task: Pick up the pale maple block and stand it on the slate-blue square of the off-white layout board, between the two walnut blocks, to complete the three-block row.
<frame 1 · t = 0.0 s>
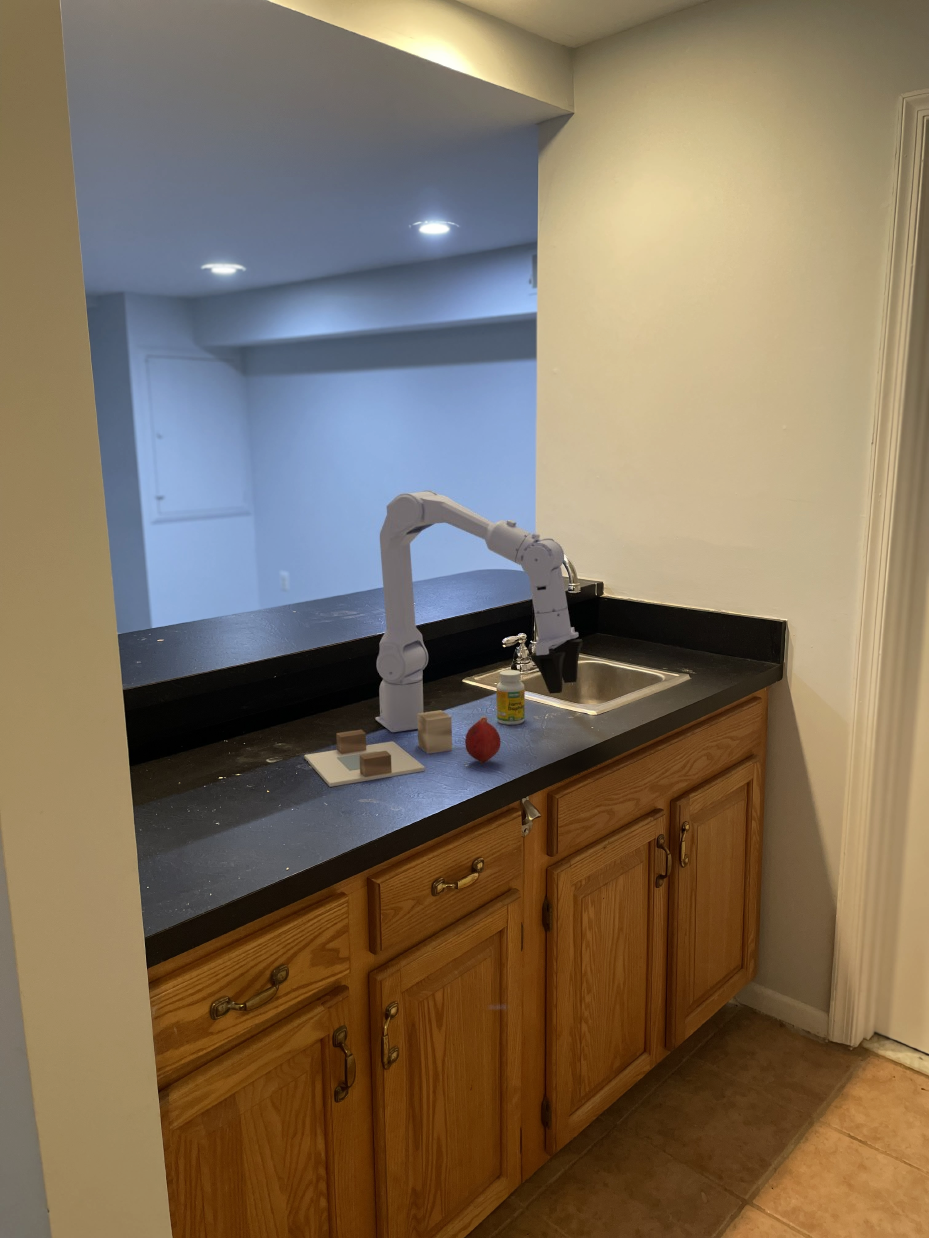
hand: (563, 687, 162), 11 cm above the counter, tool pointing down, fingers open, 7 cm apart
walnut blocks: (363, 752, 156), on the layout board, point 2 cm above the counter
supplement bottle: (510, 722, 179), on the counter
maple block: (435, 748, 164), on the counter
onion: (482, 764, 156), on the counter
layout board: (363, 764, 156), on the counter
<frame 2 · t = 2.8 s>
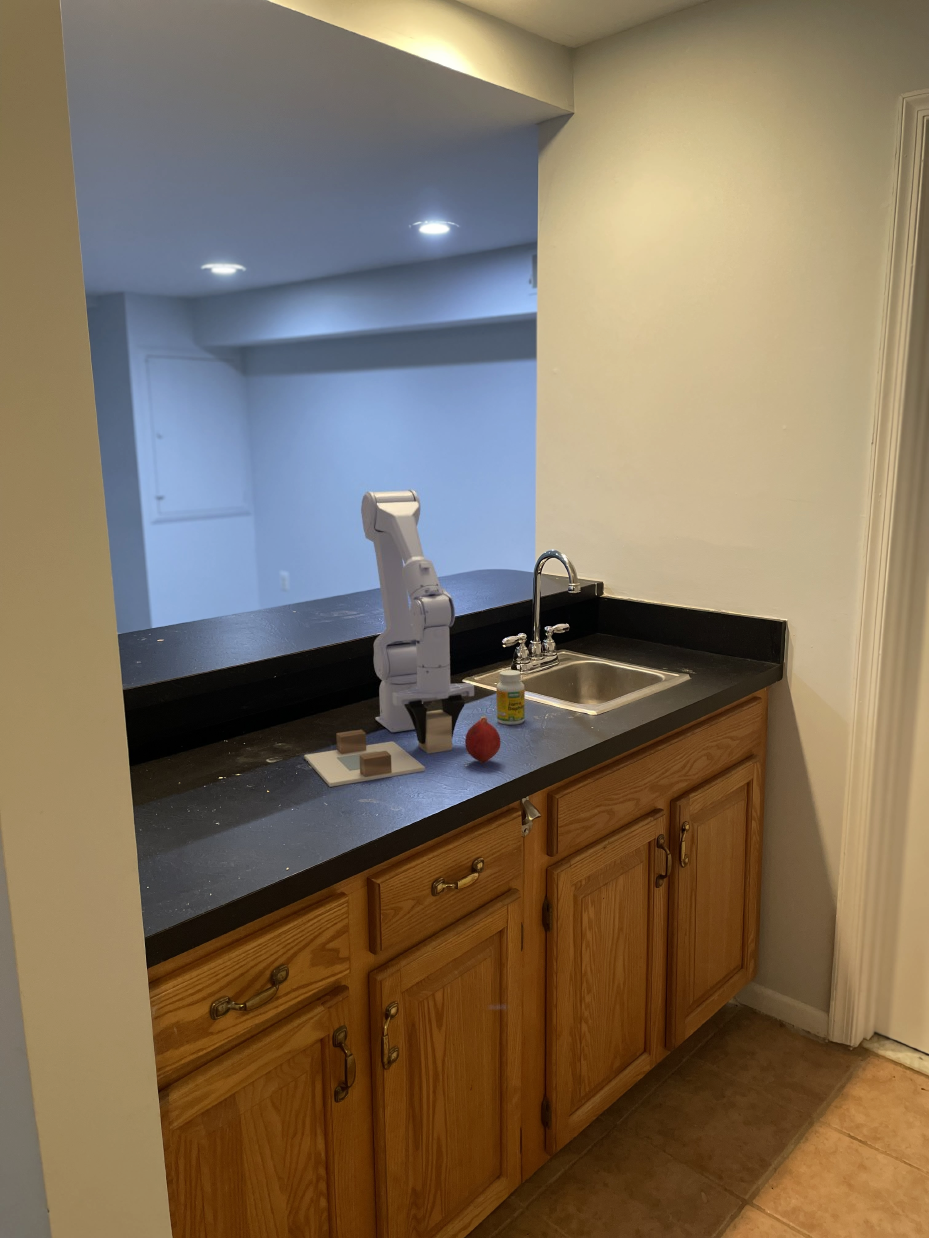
hand: (435, 739, 164), 1 cm above the counter, tool pointing down, fingers closed on maple block, 4 cm apart
maple block: (435, 747, 164), on the counter, touching gripper
everything else where it was.
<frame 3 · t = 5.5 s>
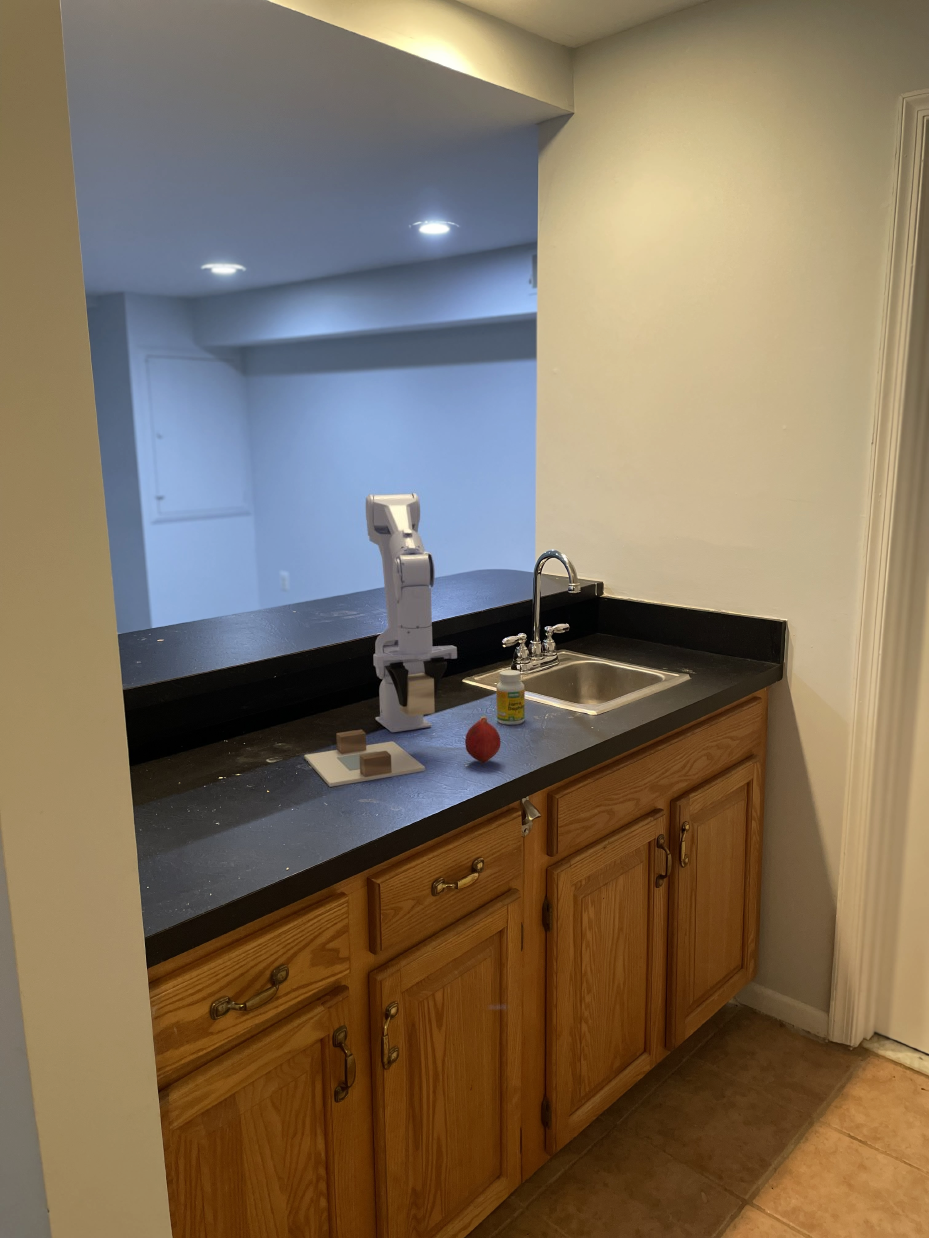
hand: (416, 703, 160), 9 cm above the counter, tool pointing down, fingers closed on maple block, 4 cm apart
maple block: (417, 711, 161), point 7 cm above the counter, touching gripper
everything else where it was.
when the fingers open (3 cm above the counter, at t = 8.4 s): maple block stays where it is, resting on layout board.
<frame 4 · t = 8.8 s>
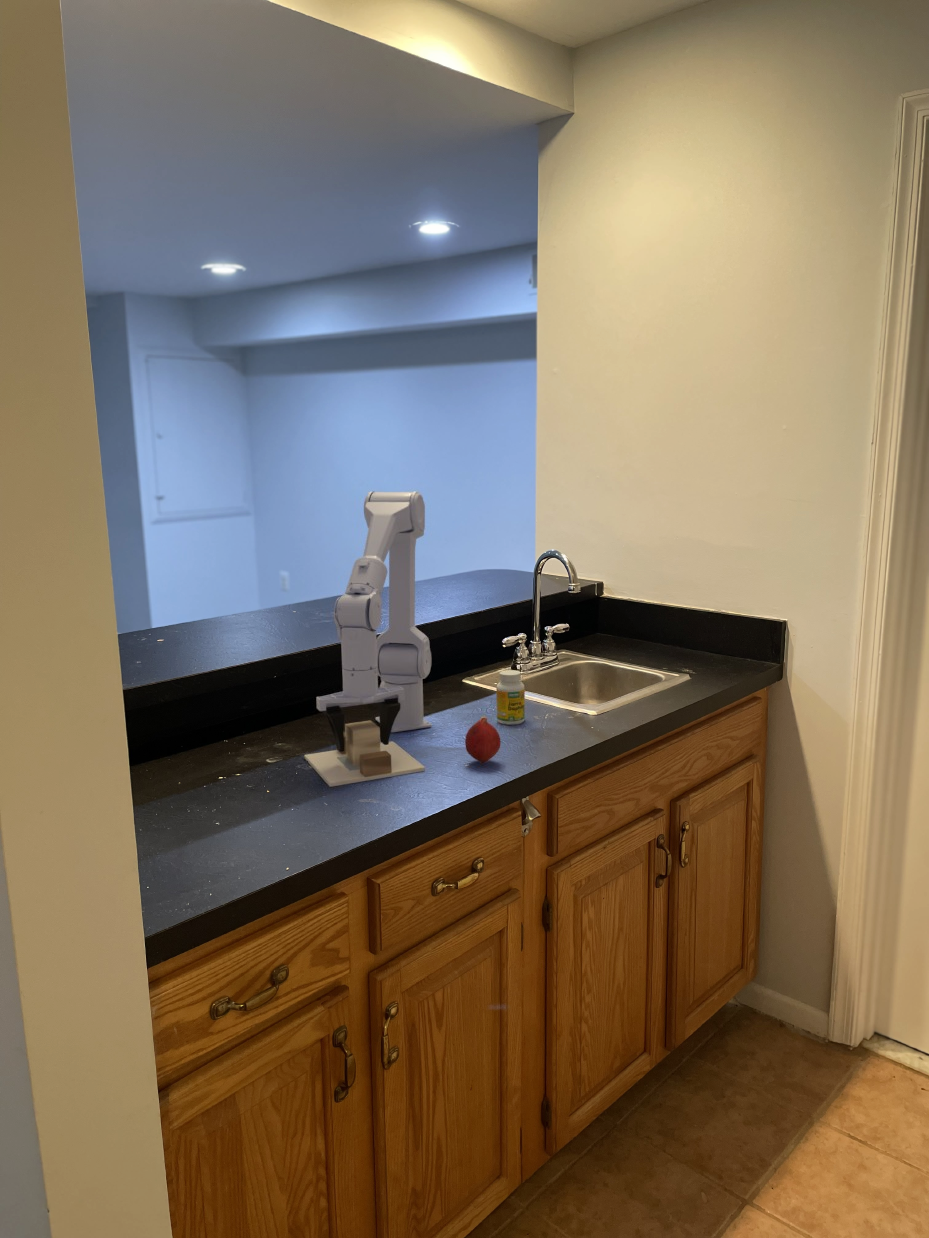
hand: (362, 746, 155), 3 cm above the counter, tool pointing down, fingers open, 7 cm apart
maple block: (363, 760, 156), point 1 cm above the counter, touching layout board
everything else where it was.
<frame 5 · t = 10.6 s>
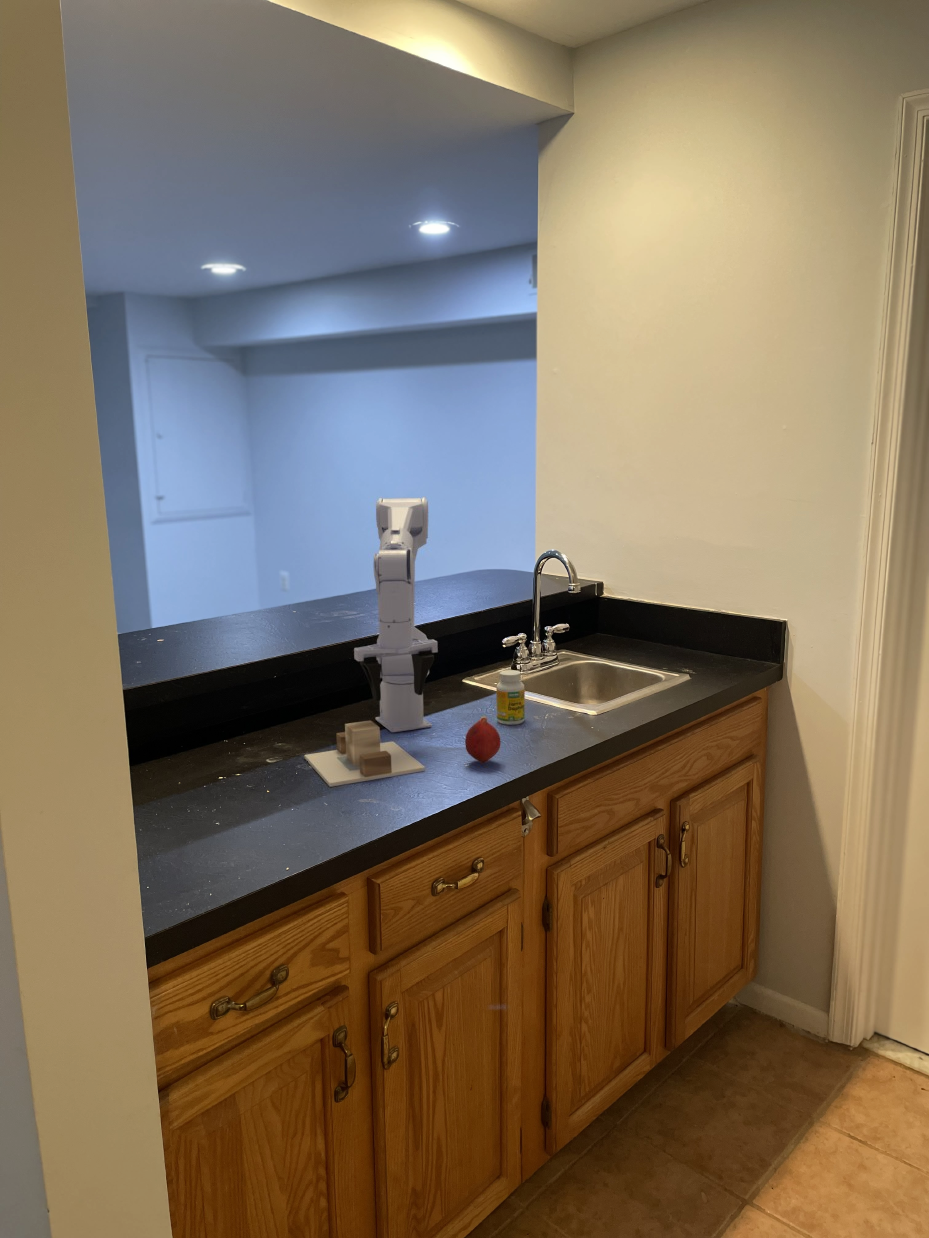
hand: (397, 696, 162), 9 cm above the counter, tool pointing down, fingers open, 7 cm apart
nothing on the counter moved.
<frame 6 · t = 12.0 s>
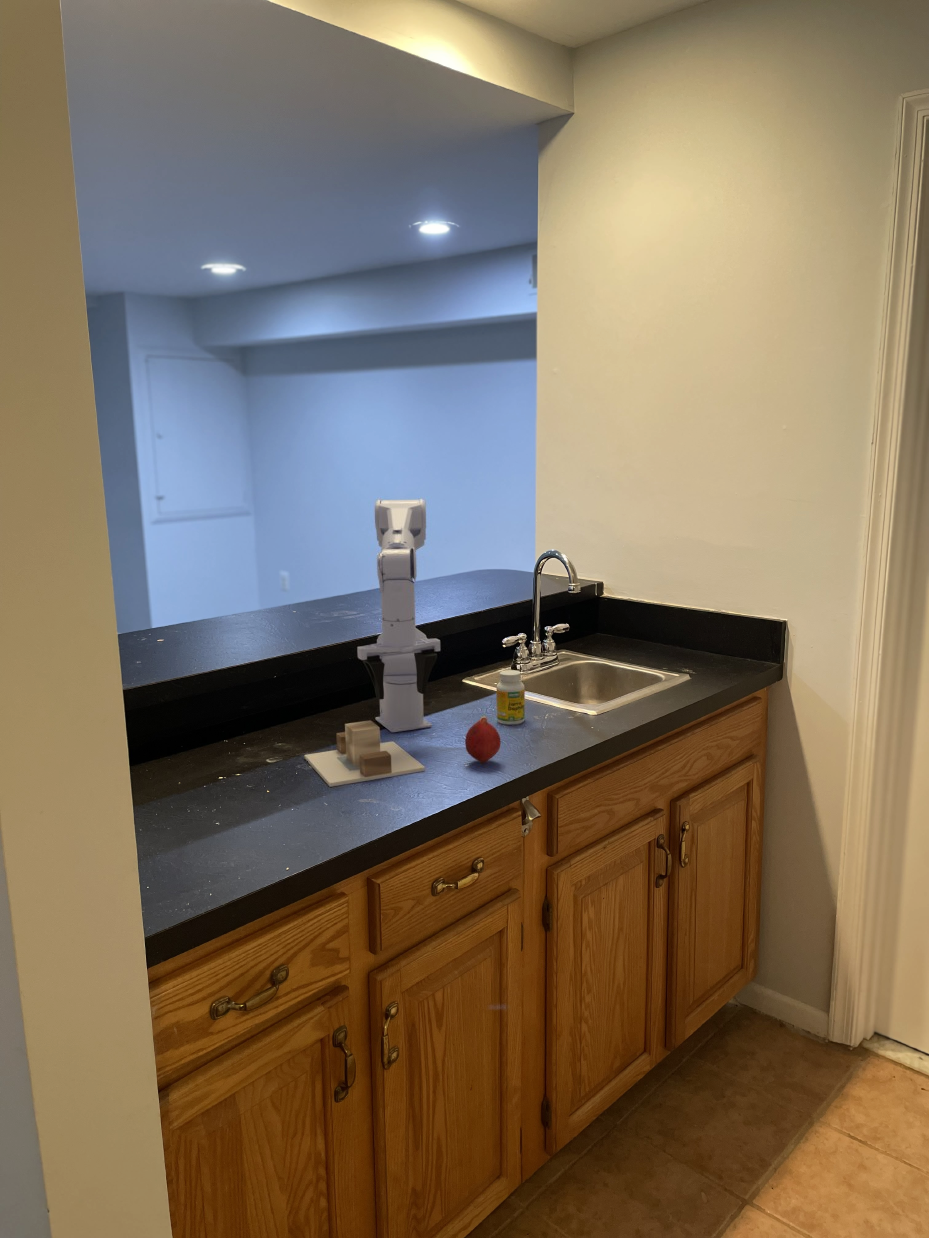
hand: (400, 695, 163), 9 cm above the counter, tool pointing down, fingers open, 7 cm apart
nothing on the counter moved.
at the end: maple block 0.0 cm off-centre on the layout board, point 0.7 cm above the layout board's base; maple block tilted 0°; the gripper is holding nothing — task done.
